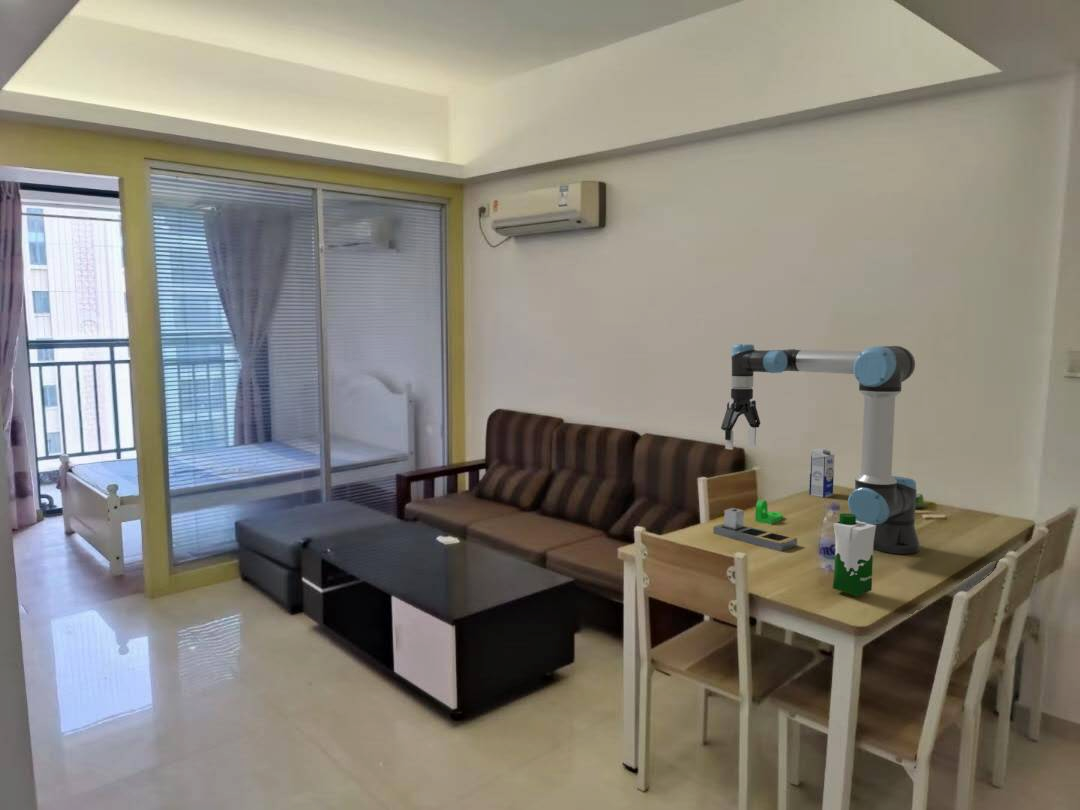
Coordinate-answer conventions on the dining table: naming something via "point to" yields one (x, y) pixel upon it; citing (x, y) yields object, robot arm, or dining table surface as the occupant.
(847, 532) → the soya milk
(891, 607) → the dining table surface
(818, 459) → the milk carton
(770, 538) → the grey slotted tray
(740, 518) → the block
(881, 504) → the robot arm
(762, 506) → the mechanical part
